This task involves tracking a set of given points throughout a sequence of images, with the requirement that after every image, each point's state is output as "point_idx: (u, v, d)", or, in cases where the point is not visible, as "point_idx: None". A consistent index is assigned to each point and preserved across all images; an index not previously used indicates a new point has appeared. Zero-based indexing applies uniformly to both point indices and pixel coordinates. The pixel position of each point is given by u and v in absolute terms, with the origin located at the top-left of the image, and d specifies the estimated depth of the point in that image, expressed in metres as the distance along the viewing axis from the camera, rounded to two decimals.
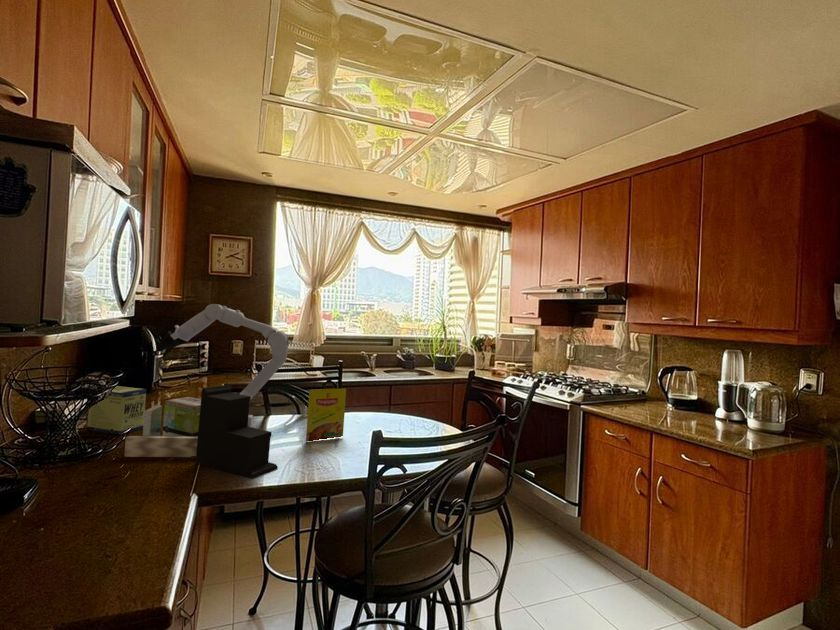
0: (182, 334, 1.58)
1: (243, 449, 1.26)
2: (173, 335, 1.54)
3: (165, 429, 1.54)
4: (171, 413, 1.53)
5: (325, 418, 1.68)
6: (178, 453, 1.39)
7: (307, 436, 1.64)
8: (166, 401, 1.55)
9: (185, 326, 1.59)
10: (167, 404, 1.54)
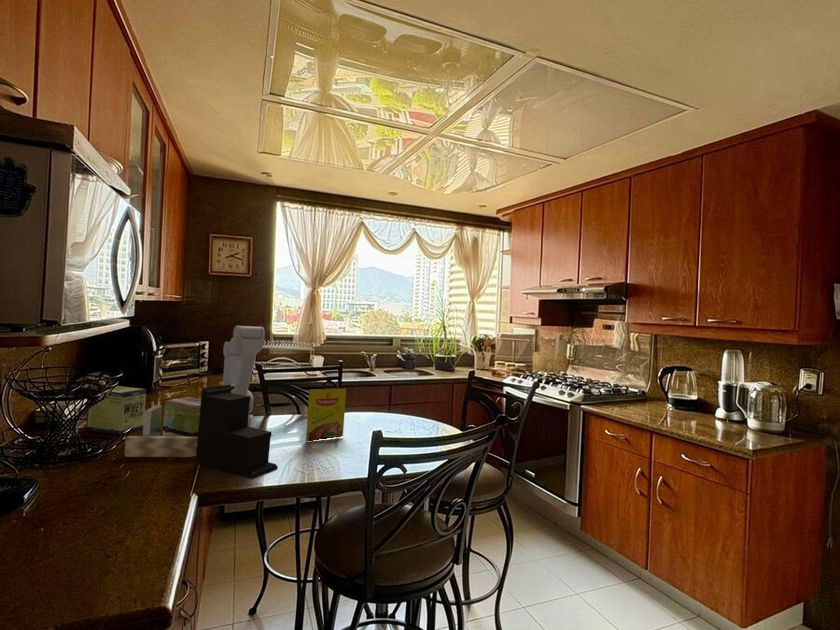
0: (230, 383, 1.74)
1: (243, 449, 1.26)
2: None
3: (165, 429, 1.54)
4: (171, 413, 1.53)
5: (325, 418, 1.68)
6: (178, 453, 1.39)
7: (307, 436, 1.64)
8: (166, 401, 1.55)
9: (226, 376, 1.74)
10: (167, 404, 1.54)
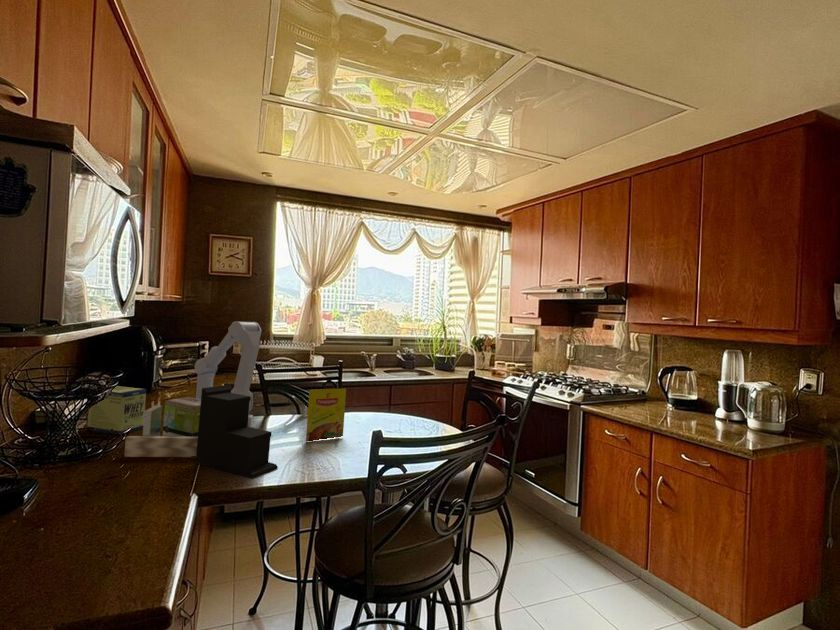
0: None
1: (243, 449, 1.26)
2: None
3: (165, 428, 1.54)
4: (171, 413, 1.53)
5: (325, 418, 1.68)
6: (178, 453, 1.39)
7: (307, 436, 1.64)
8: (166, 401, 1.55)
9: (198, 394, 1.69)
10: (167, 404, 1.54)
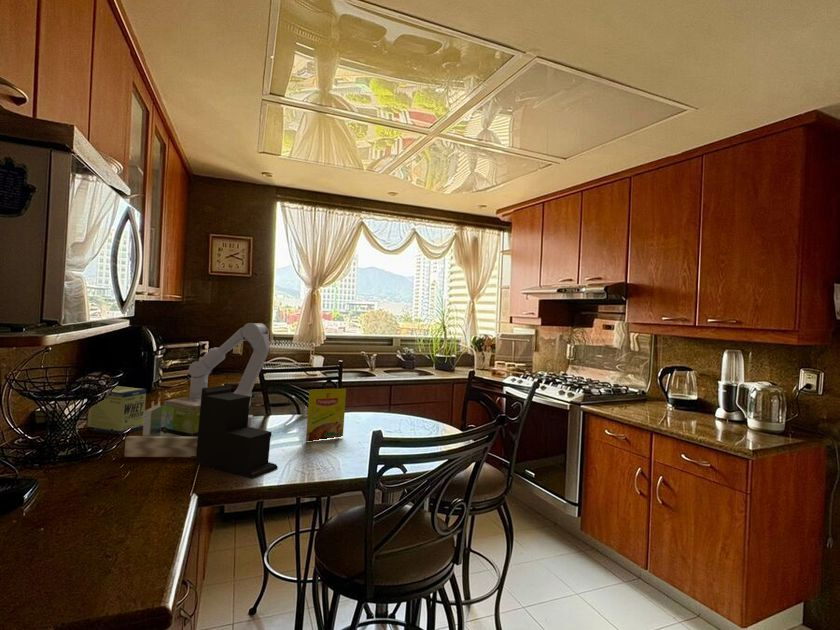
0: None
1: (243, 449, 1.26)
2: None
3: (163, 429, 1.53)
4: (169, 414, 1.52)
5: (325, 418, 1.68)
6: (178, 453, 1.39)
7: (307, 436, 1.64)
8: (164, 401, 1.53)
9: None
10: (165, 404, 1.53)
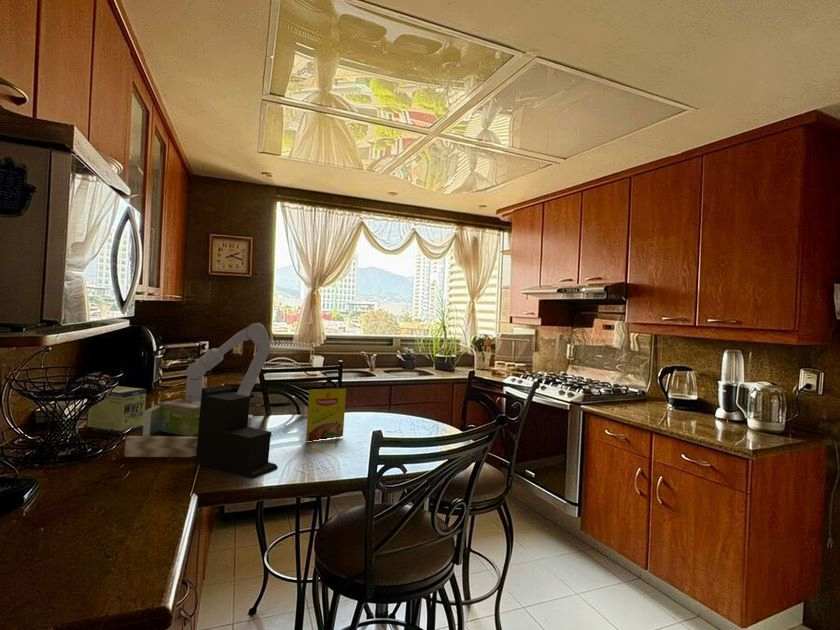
0: None
1: (243, 449, 1.26)
2: None
3: None
4: (165, 416, 1.48)
5: (325, 418, 1.68)
6: (178, 453, 1.39)
7: (307, 436, 1.64)
8: (159, 404, 1.49)
9: None
10: None
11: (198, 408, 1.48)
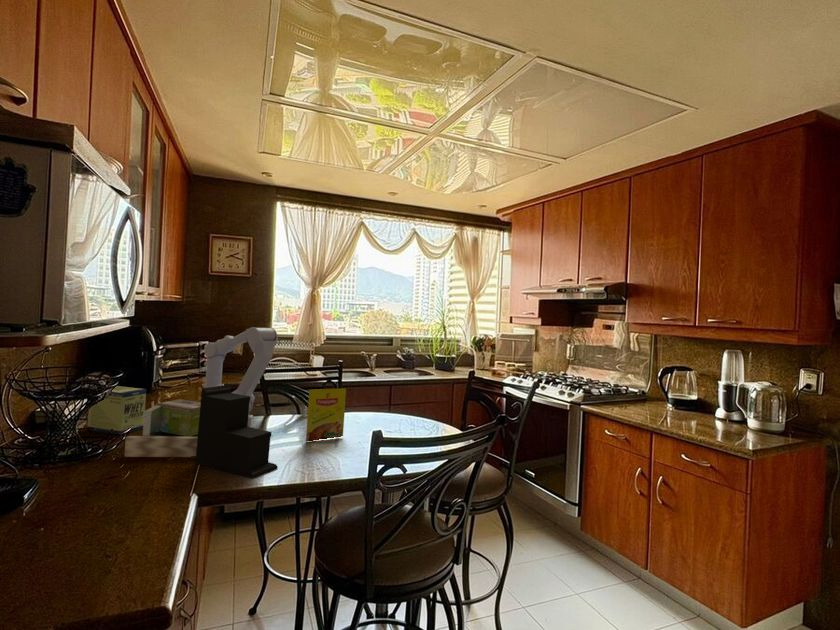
0: (212, 384, 1.68)
1: (243, 449, 1.26)
2: None
3: None
4: (164, 417, 1.48)
5: (325, 418, 1.68)
6: (178, 453, 1.39)
7: (307, 436, 1.64)
8: (158, 404, 1.49)
9: (208, 377, 1.68)
10: None
11: (197, 408, 1.48)
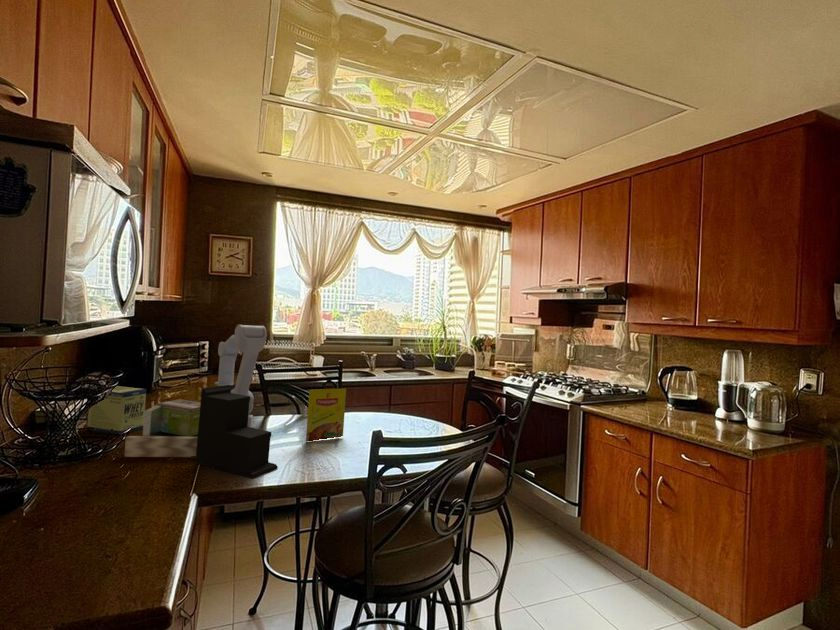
0: (225, 383, 1.74)
1: (243, 449, 1.26)
2: None
3: None
4: (164, 417, 1.48)
5: (325, 418, 1.68)
6: (178, 453, 1.39)
7: (307, 436, 1.64)
8: (158, 404, 1.49)
9: (221, 376, 1.74)
10: None
11: (197, 408, 1.47)
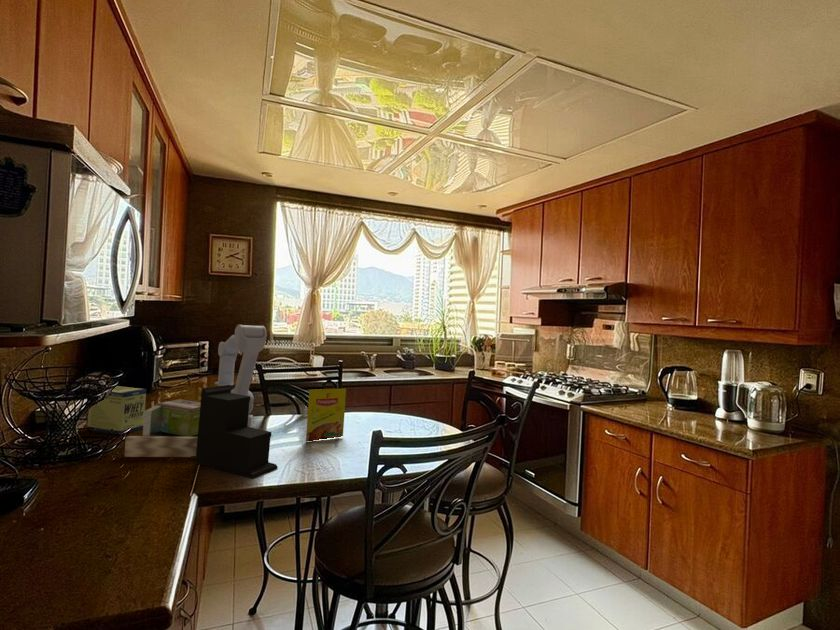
0: (225, 383, 1.74)
1: (243, 449, 1.26)
2: None
3: None
4: (164, 417, 1.48)
5: (325, 418, 1.68)
6: (178, 453, 1.39)
7: (307, 436, 1.64)
8: (158, 404, 1.49)
9: (221, 376, 1.74)
10: None
11: (197, 408, 1.47)
